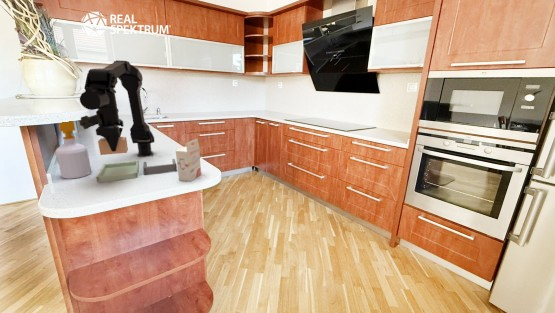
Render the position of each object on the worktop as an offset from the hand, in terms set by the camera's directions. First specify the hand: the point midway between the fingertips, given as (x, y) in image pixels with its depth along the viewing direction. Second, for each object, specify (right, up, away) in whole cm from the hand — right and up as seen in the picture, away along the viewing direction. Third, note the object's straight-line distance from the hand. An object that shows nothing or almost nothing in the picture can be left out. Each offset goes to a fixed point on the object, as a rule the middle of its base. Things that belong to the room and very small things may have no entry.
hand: (114, 149), depth 91 cm
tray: (-2, -9, +6) cm, 11 cm away
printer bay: (+12, -8, +11) cm, 18 cm away
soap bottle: (-17, -10, +4) cm, 20 cm away
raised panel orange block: (-2, 0, +3) cm, 3 cm away
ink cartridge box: (+27, -11, +4) cm, 29 cm away
